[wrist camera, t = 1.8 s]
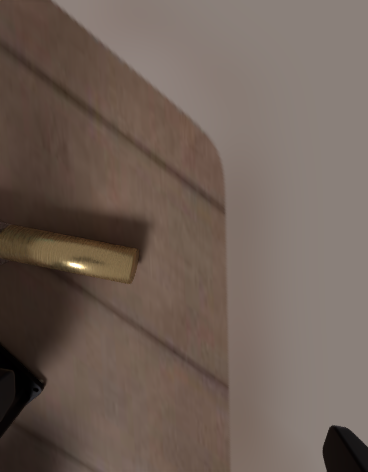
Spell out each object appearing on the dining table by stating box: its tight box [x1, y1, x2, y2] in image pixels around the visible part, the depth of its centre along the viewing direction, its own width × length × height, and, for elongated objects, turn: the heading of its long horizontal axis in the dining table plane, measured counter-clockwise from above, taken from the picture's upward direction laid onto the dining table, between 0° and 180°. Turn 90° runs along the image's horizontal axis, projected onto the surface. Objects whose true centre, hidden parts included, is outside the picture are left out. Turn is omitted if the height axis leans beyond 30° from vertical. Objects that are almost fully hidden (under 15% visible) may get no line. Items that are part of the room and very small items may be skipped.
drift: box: [0, 225, 139, 284], centre depth 18 cm, size 9×2×2 cm, turn 80°
